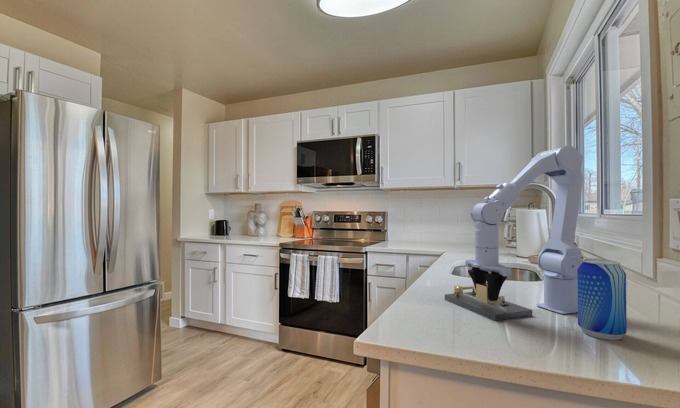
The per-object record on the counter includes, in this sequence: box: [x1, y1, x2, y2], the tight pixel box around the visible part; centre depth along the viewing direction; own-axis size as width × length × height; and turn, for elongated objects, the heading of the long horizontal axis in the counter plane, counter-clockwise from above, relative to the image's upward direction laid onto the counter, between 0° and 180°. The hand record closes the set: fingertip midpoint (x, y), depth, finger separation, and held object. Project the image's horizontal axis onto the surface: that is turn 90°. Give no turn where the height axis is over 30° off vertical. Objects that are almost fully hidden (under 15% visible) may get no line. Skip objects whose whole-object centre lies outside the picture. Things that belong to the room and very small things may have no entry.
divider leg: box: [475, 282, 506, 304], centre depth 89 cm, size 8×4×5 cm, turn 108°
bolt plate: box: [444, 285, 533, 322], centre depth 92 cm, size 12×20×4 cm, turn 18°
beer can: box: [577, 258, 628, 341], centre depth 73 cm, size 8×8×16 cm
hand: (487, 298), depth 88 cm, fingers closed on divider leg, 4 cm apart
